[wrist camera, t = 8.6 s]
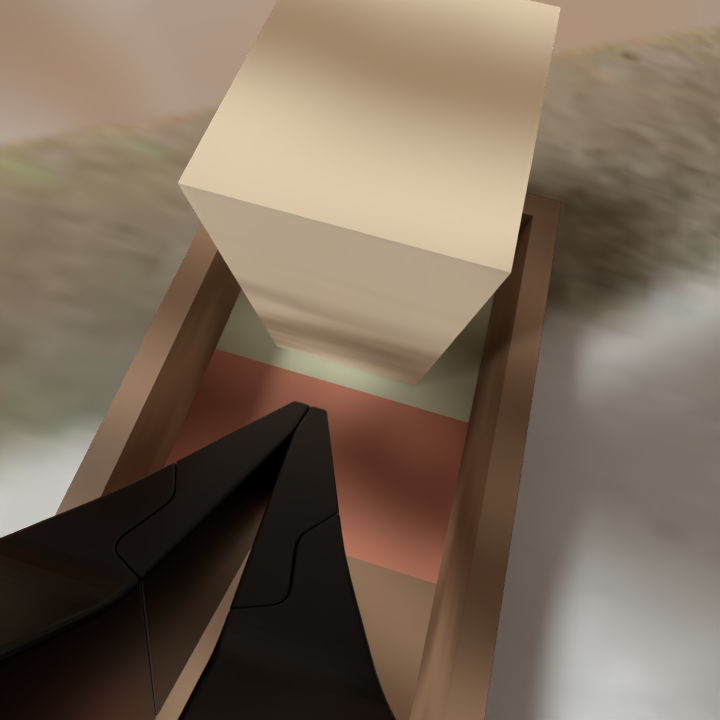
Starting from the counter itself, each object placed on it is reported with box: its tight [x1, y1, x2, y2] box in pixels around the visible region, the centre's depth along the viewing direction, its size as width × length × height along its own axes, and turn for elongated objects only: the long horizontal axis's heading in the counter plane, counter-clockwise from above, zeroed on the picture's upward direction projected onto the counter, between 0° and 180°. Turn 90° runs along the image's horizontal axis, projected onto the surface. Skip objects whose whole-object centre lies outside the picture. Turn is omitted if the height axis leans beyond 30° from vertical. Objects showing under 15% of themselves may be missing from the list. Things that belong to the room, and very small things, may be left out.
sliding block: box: [178, 0, 560, 386], centre depth 11 cm, size 7×6×9 cm
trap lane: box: [56, 193, 561, 720], centre depth 12 cm, size 28×13×4 cm, turn 164°
